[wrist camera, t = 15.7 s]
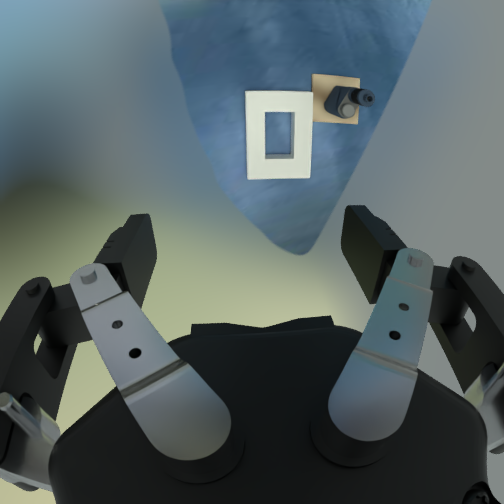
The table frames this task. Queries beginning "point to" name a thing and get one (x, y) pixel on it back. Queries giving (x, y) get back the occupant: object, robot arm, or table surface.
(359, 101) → the vaping device
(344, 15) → the table surface
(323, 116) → the tan rectangular block
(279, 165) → the white cutout frame
